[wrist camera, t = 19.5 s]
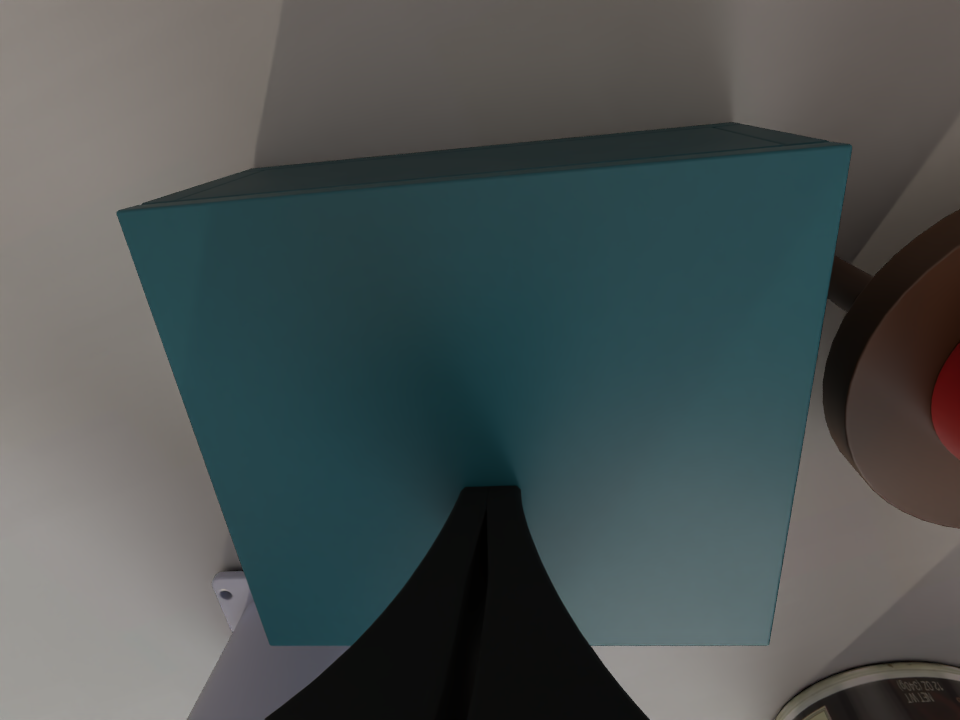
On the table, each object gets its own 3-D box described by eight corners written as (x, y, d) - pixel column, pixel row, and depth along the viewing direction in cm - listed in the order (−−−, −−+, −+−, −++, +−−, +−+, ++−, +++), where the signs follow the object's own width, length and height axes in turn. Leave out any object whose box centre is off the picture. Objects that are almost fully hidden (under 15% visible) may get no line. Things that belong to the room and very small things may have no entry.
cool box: (701, 472, 20) (755, 593, 15) (333, 484, 21) (279, 598, 17) (734, 121, 15) (832, 140, 10) (250, 168, 16) (137, 204, 12)
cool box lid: (759, 623, 15) (770, 647, 14) (278, 625, 17) (268, 646, 16) (833, 141, 10) (854, 143, 9) (136, 205, 12) (114, 210, 11)
